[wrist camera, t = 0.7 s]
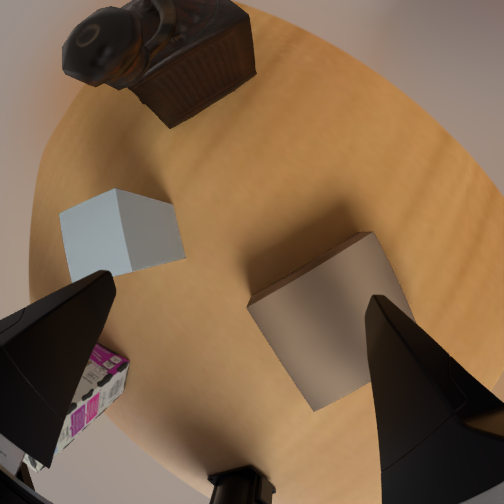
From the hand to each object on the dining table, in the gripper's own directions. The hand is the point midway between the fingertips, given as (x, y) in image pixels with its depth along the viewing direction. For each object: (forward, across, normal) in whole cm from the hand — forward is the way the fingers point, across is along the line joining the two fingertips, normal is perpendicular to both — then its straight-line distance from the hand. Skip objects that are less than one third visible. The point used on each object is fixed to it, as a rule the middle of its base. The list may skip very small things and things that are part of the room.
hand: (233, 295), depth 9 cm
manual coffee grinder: (+22, +7, -8) cm, 24 cm away
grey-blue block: (+14, +10, +6) cm, 18 cm away
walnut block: (+12, -7, +11) cm, 18 cm away
